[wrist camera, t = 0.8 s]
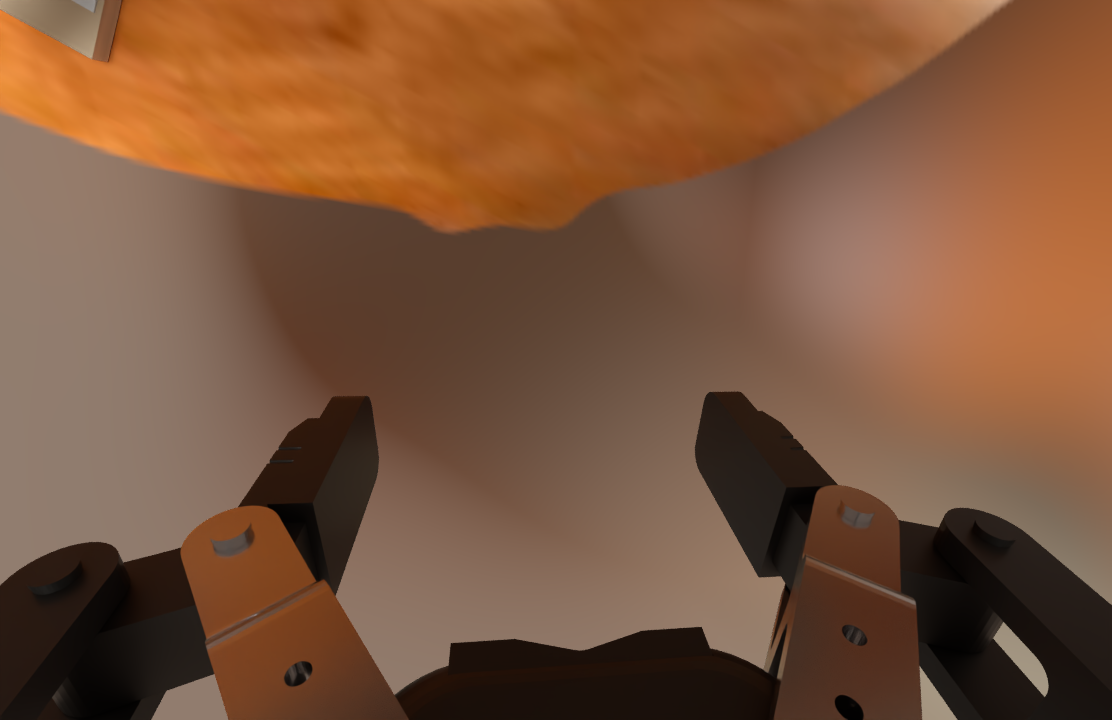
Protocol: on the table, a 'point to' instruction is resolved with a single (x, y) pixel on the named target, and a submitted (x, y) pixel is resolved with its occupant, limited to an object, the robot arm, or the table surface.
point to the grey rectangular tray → (71, 22)
